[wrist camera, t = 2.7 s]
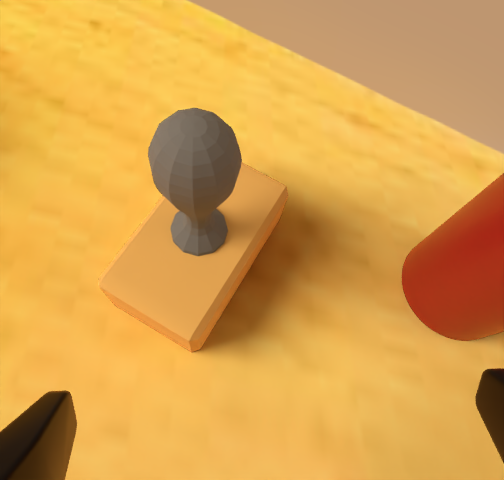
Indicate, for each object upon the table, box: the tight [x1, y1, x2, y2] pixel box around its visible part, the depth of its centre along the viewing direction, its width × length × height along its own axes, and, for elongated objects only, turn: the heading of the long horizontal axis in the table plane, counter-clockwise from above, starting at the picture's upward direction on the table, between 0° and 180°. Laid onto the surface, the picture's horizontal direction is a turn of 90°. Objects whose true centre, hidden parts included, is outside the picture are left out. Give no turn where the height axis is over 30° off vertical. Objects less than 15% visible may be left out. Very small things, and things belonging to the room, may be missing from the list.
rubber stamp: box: [99, 108, 288, 352], centre depth 19 cm, size 10×6×12 cm, turn 150°
